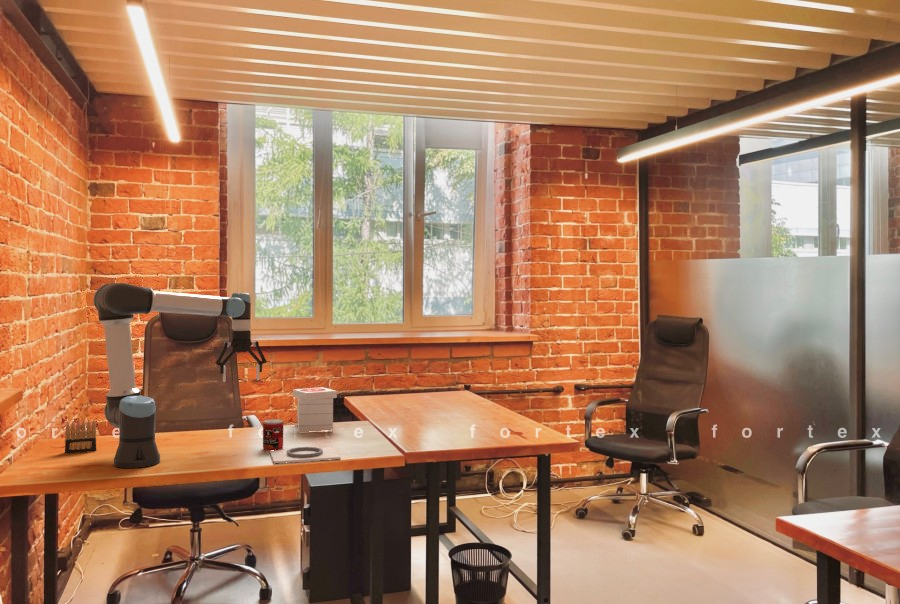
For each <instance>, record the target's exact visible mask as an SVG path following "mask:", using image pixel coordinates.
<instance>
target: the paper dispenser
mask: <svg viewBox="0 0 900 604" xmlns="http://www.w3.org/2000/svg"><path fill="white" fill-rule="evenodd" d="M337 392H338V390H334V389H331V388H328V387H310V388H309V387H307V388H295V389H292V397H295V398H297V407H296V408H297V409H296V410H297V411H296V421H297V430H299V431H298V433H299V432H309V431H321V430H331V429H334V423H333V422H334V399H337V398H338V393H337Z"/></svg>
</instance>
